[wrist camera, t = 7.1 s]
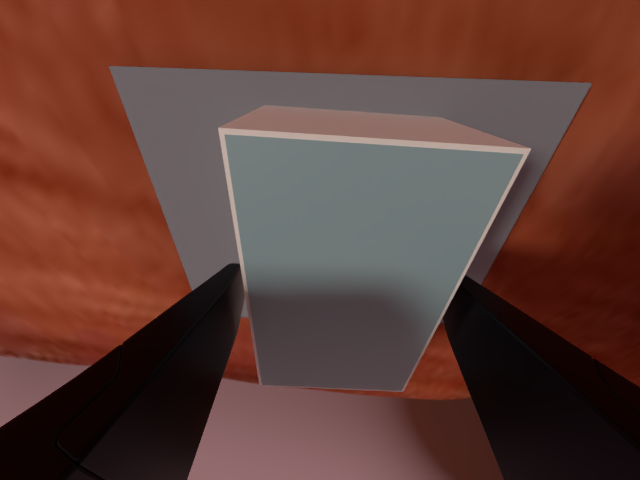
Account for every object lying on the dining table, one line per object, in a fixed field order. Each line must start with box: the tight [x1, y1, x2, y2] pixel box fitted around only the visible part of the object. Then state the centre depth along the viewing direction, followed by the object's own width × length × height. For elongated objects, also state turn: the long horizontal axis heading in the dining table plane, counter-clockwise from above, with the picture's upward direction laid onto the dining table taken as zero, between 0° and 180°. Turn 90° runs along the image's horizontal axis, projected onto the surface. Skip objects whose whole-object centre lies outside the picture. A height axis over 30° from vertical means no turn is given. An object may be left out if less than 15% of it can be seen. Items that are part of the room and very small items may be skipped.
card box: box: [218, 105, 531, 392], centre depth 8 cm, size 9×6×4 cm, turn 177°
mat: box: [109, 66, 592, 323], centre depth 10 cm, size 14×11×1 cm
